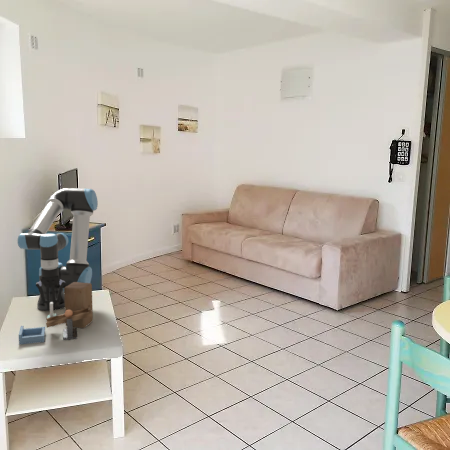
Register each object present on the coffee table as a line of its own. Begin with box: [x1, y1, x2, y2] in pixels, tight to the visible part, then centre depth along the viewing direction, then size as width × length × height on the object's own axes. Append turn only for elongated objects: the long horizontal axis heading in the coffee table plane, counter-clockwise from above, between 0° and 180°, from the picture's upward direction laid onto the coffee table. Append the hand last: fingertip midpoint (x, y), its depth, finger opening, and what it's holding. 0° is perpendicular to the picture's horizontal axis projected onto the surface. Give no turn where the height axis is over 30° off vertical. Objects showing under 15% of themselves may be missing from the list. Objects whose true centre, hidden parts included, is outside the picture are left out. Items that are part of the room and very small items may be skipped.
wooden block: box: [63, 282, 94, 329], centre depth 231 cm, size 10×10×20 cm
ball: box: [64, 310, 73, 317], centre depth 218 cm, size 4×4×4 cm
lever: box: [45, 305, 92, 329], centre depth 222 cm, size 20×13×4 cm, turn 108°
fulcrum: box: [62, 319, 78, 341], centre depth 220 cm, size 6×11×9 cm, turn 18°
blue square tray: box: [18, 325, 46, 346], centre depth 215 cm, size 10×10×4 cm
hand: (51, 316), depth 223 cm, fingers closed
